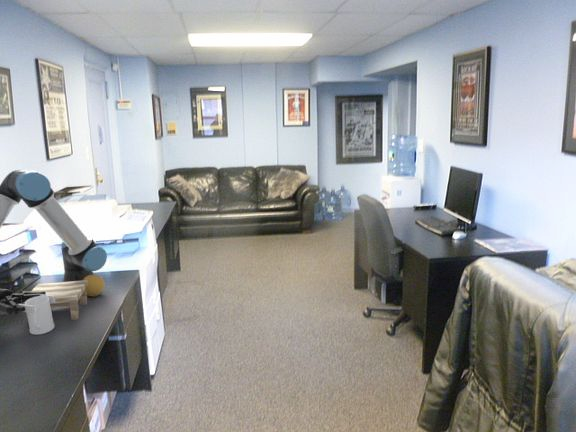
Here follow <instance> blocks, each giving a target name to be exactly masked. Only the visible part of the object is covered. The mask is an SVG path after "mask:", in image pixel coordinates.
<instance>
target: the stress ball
mask: <svg viewBox="0 0 576 432" xmlns="http://www.w3.org/2000/svg"><path fill="white" fill-rule="evenodd" d="M83 280H87V282H88V285H87V287H86V294H87V297H88V296H89V297H93V298H94V297H97V296H98V295H101V294H102V292H103V291H104V289H105V286H106V285H105V280H104V279H103V277H102V276H101V275H99V274H95V273H93V274H92V275H88V276H86V277H85V278H84V279H83Z"/></svg>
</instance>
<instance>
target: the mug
mask: <svg viewBox="0 0 576 432" xmlns="http://www.w3.org/2000/svg"><path fill="white" fill-rule="evenodd" d="M25 305H33V306H34V313H26V318H27V317H28V320H27V323H28V322H29V324H28V326H29V333H30V334H31V335H36V336H37V335H38V336H39V335H43V334H47V333H49V332H51V331H53V329H55V327H56V326H55V322H54V318H53V314H52V308H51V307H50V301H49V297H47V296H37V297H33V298H30V299H28V300H27V301H26V302H25Z"/></svg>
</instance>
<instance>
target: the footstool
mask: <svg viewBox="0 0 576 432" xmlns="http://www.w3.org/2000/svg"><path fill="white" fill-rule="evenodd" d="M87 285H88V282H87V280H82V281H70V282H49V283H38V284H37V285H36V286H35V287H34V288H32V290H31V291H42V292H45V293H46V295H53V296H55V301H56V302H55V303H50V307H51V309H54V308H55V309H56V308H65V307H66V308H68V307H69V310H70V311H69V312H70V317H71V318H70V320H71V321H75V320H79V318H80V312H79V305H81V306H86V305H87V304H88V295H87V294H86V287H87ZM25 302H26V301H25ZM25 302H24V303H21V304H25ZM78 302H79V303H78ZM25 313H26V314H27V312H25ZM26 320H27V325H29V322H28V317H27V316H26Z"/></svg>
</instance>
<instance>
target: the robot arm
mask: <svg viewBox="0 0 576 432" xmlns="http://www.w3.org/2000/svg"><path fill="white" fill-rule="evenodd" d="M54 194H55V191H54V189H53V188H52V186H51V182H50V180H49V178H48V177H47V176H46V175H45V174H43V173H41V172H39V171H36V170H28V169H27V170H26V169H15V170H12V171H10V172H9V173H8V174H7V175H5V177H4V179H3V180H2V182H1V183H0V229H1V228H2V227H3V225H4V223H5V221H6V220H7V218H8V217H9V215H10V214H11V212H12V210H13V209H14V207H15V206H16V205H19V204H20V203H21V201H23V203H24V204H26V206H27V207H28V208H29V209H35V210H36V212H37V213H38V214H39V215H40V216H41V217H42V219H44V221H45V222H46V224H48V225H49V227H51V229H52V230H53V231H54V233H55V234H56V235H57V236H58V237H59V239H60V240H62V242H61V243H60V244H61V249H60V250H61V254H62V260H63V261H62V262H63V263H62V264H63V267H64V268H63V270H64V272H63V277H62V282H70V281H82V280H83V279H84V278H85V277H86V276H88V275H92V274H94V272H97V271H99V270H101V269H103V267H104V266H105V265H106V262H107V259H108V254H107V251H106V250H105V249H104V248H103V247H102V246H99V245H98V244H97V243H96V242H95V241H94V240H93V238H92V237H91V236H86V235H85V234H84V233H83V231H82V230H81V229H80V228H79V227H78V225H77V224H76V222H75V221H74V220H73V219H72V218H71V216H70V215H69V214H68V213H67V212H66V210H65V209H64V208H63V207H62V205H61V204H60V203H59V202H58V201H57V200H56V198H55V197H54ZM37 296H47V297H49V301H50V303H55V302H56V301H55V296H53V295H46V293H45V292H42V291H32V290H30V291H28V290H23V291H21V293H17V292H15V293H14V292H13V291H12V290H10V289H6V288H0V311H1V312H3V313H6V314H9V315H11V314H13V313H14V315H17V314H19V312H21V313H26V312H27V313H34V306H33V305H25V304H22V303H24V302H25V301H27V300H28V299H30V298H33V297H37ZM27 313H26V314H27Z"/></svg>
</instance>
